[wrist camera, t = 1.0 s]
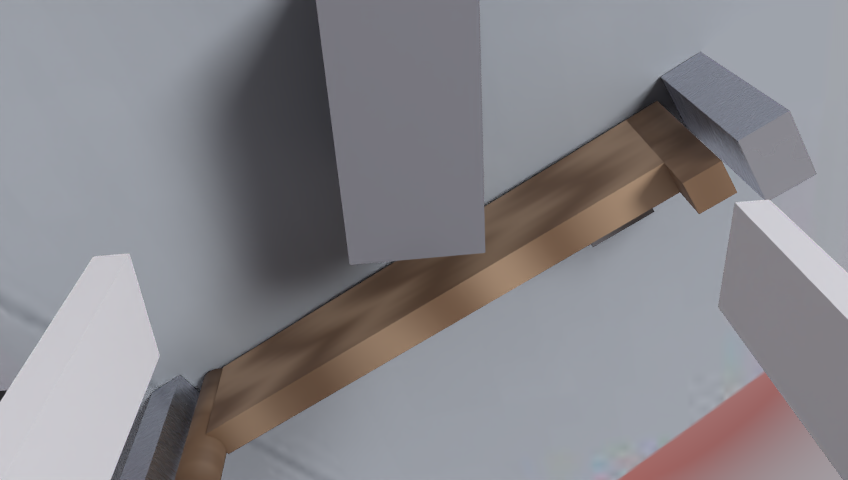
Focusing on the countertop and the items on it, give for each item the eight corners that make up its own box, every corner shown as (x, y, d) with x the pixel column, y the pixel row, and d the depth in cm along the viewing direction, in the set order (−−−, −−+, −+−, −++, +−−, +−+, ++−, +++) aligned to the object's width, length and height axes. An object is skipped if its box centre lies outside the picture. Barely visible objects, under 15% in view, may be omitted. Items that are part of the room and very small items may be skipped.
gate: (227, 409, 41) (203, 512, 35) (195, 380, 40) (164, 480, 34) (678, 141, 35) (744, 207, 29) (655, 97, 34) (719, 156, 28)
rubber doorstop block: (352, 167, 35) (349, 265, 27) (326, -60, 30) (313, -20, 22) (458, 158, 35) (485, 252, 27) (448, -69, 30) (478, -33, 22)
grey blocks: (190, 425, 42) (155, 545, 35) (152, 392, 41) (108, 509, 34) (725, 104, 35) (816, 173, 28) (700, 51, 33) (789, 110, 26)
